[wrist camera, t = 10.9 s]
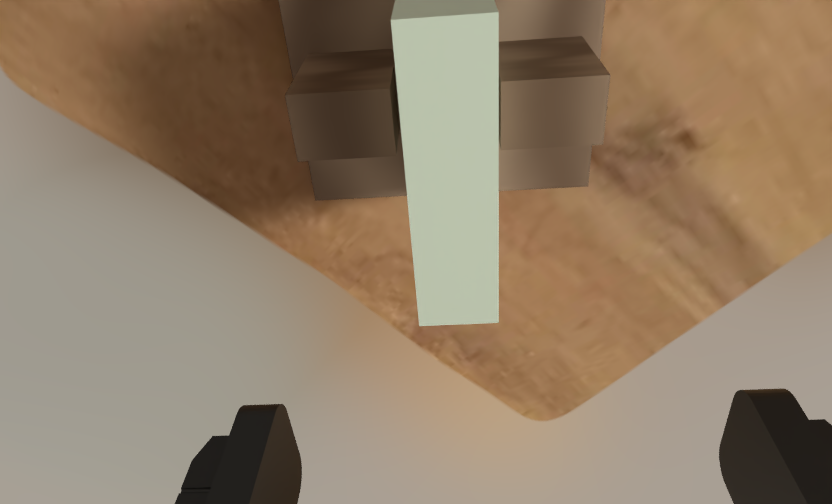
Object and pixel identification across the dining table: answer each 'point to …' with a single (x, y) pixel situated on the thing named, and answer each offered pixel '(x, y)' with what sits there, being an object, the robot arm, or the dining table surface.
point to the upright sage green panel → (451, 154)
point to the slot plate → (378, 99)
